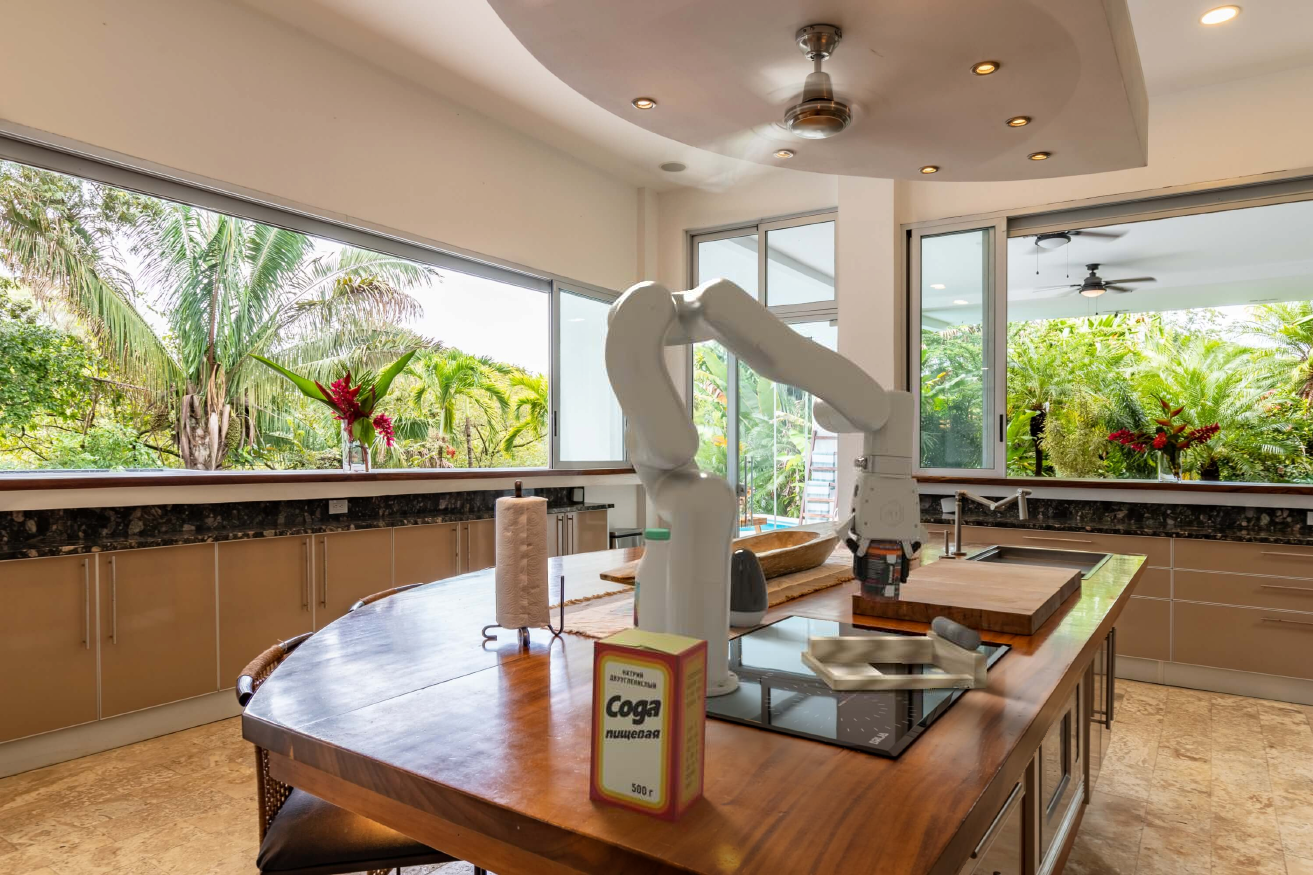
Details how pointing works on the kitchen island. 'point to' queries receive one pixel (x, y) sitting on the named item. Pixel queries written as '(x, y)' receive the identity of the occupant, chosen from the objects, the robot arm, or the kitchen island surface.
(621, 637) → the baking soda box
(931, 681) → the bay
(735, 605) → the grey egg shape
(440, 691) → the kitchen island surface
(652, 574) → the milk bottle
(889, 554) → the supplement bottle
